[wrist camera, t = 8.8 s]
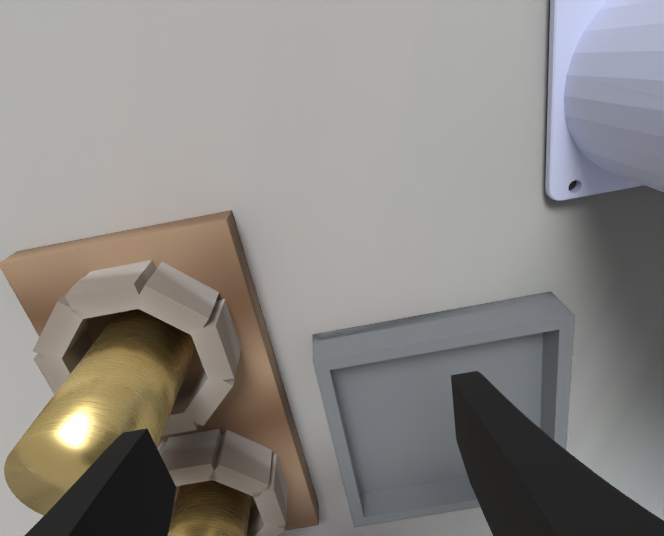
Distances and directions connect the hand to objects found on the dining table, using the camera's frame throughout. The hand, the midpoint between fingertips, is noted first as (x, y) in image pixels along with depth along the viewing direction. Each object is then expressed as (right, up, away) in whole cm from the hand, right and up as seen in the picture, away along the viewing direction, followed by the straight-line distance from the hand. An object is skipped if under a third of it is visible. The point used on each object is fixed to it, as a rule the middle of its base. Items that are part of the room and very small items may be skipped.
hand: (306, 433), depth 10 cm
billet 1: (-7, +1, +8) cm, 11 cm away
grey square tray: (+6, -3, +12) cm, 14 cm away
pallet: (-6, -3, +11) cm, 13 cm away
